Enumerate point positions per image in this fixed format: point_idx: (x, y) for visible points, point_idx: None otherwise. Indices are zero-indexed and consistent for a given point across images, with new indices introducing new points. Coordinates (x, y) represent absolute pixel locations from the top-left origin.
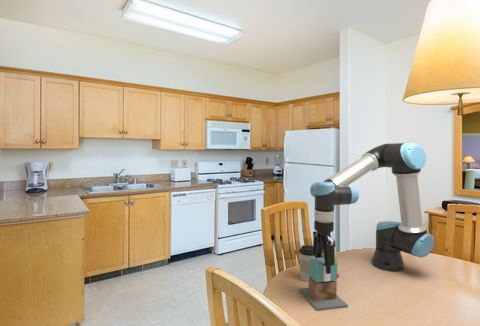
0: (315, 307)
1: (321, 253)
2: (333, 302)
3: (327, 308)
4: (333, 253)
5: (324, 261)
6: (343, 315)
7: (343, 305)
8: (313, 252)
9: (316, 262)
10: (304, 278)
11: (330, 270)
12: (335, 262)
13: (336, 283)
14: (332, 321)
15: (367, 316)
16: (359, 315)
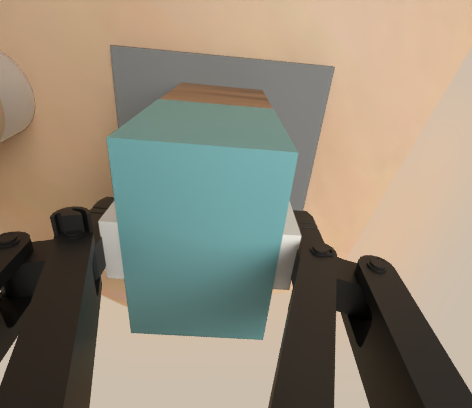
0: None
1: (90, 265)
2: (285, 125)
3: (309, 175)
4: (464, 405)
5: (212, 251)
6: (373, 135)
7: (328, 94)
8: (25, 302)
9: (215, 318)
10: (16, 133)
11: (316, 228)
12: (275, 160)
13: (271, 106)
14: (380, 200)
15: (440, 22)
16: (412, 59)
